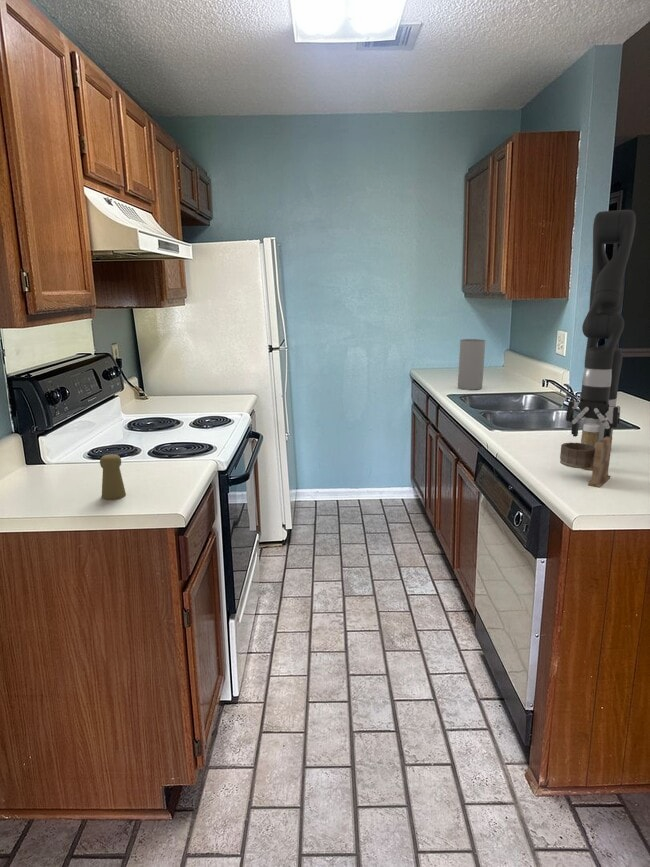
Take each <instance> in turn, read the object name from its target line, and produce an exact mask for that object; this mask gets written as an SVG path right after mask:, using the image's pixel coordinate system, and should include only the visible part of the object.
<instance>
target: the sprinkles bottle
mask: <svg viewBox="0 0 650 867" xmlns="http://www.w3.org/2000/svg"><path fill="white" fill-rule="evenodd" d="M582 429H583V440H582V443H583V444H588V445H591V446H594V447H595V446H596V443H597V442H598V438H599V432H600V425H598V424H594V423H585V424H584V426H583V425H582ZM581 469H582V470H585V471H593V468H581Z"/></svg>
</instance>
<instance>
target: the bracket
mask: <svg viewBox="0 0 650 867" xmlns="http://www.w3.org/2000/svg"><path fill="white" fill-rule="evenodd" d="M612 442H613V436H612V437H608V436H606V437H605V438H603V439H602V440H600V441H599V442H597V443H596V446H595V447H594V446H591V445H588V444H583V443H581V442H563V443H562V444H561V445H560V446H561V447H560V456H559V459H560V462H559V463H560V464H562V465H563V466H565V467H569V468H574V469H582V468H593V470H591V471H592V474H591V480H590V481H588V483H587V485H588V487H589V486H590V487H594V488H601V487H602V486H604V484H606V483H607V482H608V481H609V480H611V475H609V467H610V459H611V451H612V444H613V443H612Z"/></svg>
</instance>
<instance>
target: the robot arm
mask: <svg viewBox="0 0 650 867" xmlns="http://www.w3.org/2000/svg"><path fill="white" fill-rule="evenodd" d="M636 220H637V219H636V213H635V211H634V210H632V209H620V210H605V211H604V210H603V211H599V212H597V213H596V215H595V217H594V220H593V225H592V226H593V227H592V270H591V272H592V273H591V282H590V293H589V308H588V312H587V314H586V316H585V317H584V320H583V323H582V325H581V326H582V328H581V330H582V333H583V335H584V337H586V338H587V340H586V341H587V342H586V349H585V355H584V371H583V375H582V379H581V391H580V399H579V400H580V401H579V402H578V401H576V400H570V401H569V402H568V405H567V411H566V416H565V421H566V422H569V423H571V435H572V437H573V438H574V437H575V438H576V437H578V435H579V425H580V423H579V422H580V421H581V420H582V419H583V422H582V427H583V426H584V424H585V423H594V424H598V425H600V432H599V438H598V442H599V441H600V440H602V439H603V438H605V437H606V436H608V437H612V438H613V434H614V429H615V428H618V427H619V426H620V418H621V416H620V415H621V407H620V406H619V405H617V398H618V390H619V383H620V382H619V381H620V376H621V370H622V367H623V366H622V365H623V356H624V355H623V350H621V349H619V348H616V347H617V345H618V342H619V341H620V338H621V335H622V333H623V332H624V328H625V320H624V317H623V316H622V315H621V314H620V312H621V311H622V307H623V299H624V298H623V297H624V284H623V282H624V280H623V279H624V275H625V271H626V268H627V264H628V261H629V257H630V252H631V249H632V246H633V241H634V237H635V233H636V225H637V224H636V223H637V222H636ZM611 244H612V245H614V244H619V245H618V249H617V251H616V252H615V253H614V255H613V256H612V257H611V259H610V260H609V258H608V255H607V253H606V248H605V245H611ZM600 339H601V340H602V339H603V340H606V339H607V342H606V343H605V344H603V345H599V342H600ZM577 408H578V409H579V411H580V412H579V413H578V414H577V415H576V417H574V413H575V409H577ZM580 439H581V440H580V443H582V440H583V428H582V431H581V437H580Z"/></svg>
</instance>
